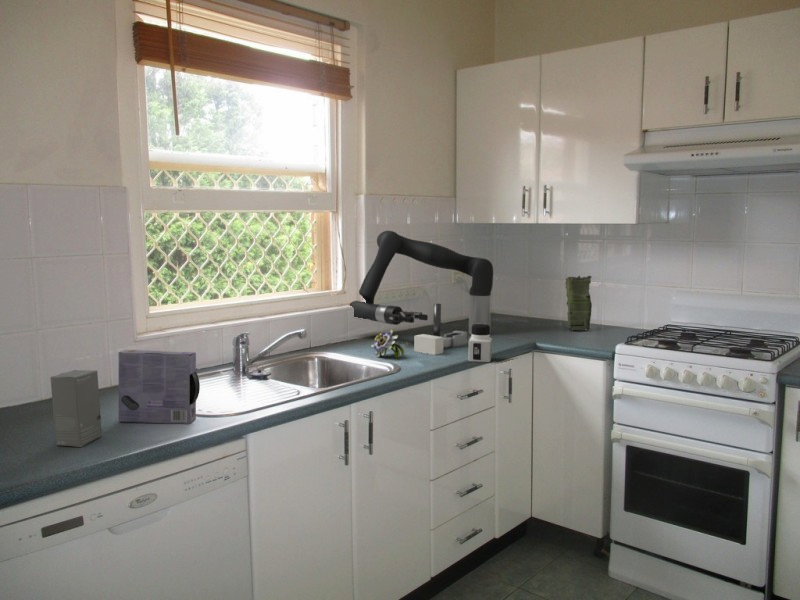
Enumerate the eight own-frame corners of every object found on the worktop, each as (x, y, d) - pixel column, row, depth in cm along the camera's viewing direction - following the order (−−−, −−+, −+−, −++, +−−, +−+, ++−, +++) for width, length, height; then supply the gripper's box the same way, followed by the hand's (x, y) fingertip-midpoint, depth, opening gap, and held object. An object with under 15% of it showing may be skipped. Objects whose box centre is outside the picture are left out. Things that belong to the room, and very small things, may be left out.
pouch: (562, 330, 301) (565, 275, 298) (567, 327, 312) (569, 273, 309) (588, 332, 297) (590, 277, 294) (591, 328, 308) (593, 274, 305)
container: (490, 362, 235) (491, 326, 233) (468, 361, 236) (468, 325, 235) (491, 358, 242) (492, 322, 241) (470, 357, 244) (471, 322, 242)
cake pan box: (201, 418, 168) (199, 349, 166) (194, 424, 163) (192, 354, 161) (126, 417, 169) (123, 348, 167) (117, 423, 164) (114, 352, 162)
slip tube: (448, 343, 264) (449, 301, 262) (455, 345, 262) (456, 301, 260) (423, 349, 253) (424, 304, 250) (430, 350, 250) (431, 305, 248)
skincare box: (80, 448, 146) (77, 377, 144) (51, 446, 147) (47, 376, 145) (104, 435, 154) (101, 369, 152) (76, 433, 156) (73, 367, 154)
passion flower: (379, 372, 243) (363, 344, 245) (400, 362, 250) (384, 335, 252) (394, 359, 235) (378, 330, 237) (416, 349, 242) (399, 321, 244)
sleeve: (457, 343, 270) (457, 330, 270) (467, 344, 267) (467, 331, 266) (443, 346, 264) (443, 333, 263) (454, 348, 260) (454, 334, 260)
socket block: (422, 349, 257) (422, 334, 257) (443, 352, 251) (443, 337, 250) (414, 351, 254) (414, 335, 253) (435, 354, 247) (435, 339, 246)
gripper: (377, 307, 264) (409, 311, 254) (400, 303, 275) (431, 307, 265) (377, 325, 265) (408, 330, 255) (400, 321, 276) (431, 326, 266)
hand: (420, 318), depth 260 cm, fingers open, 8 cm apart
